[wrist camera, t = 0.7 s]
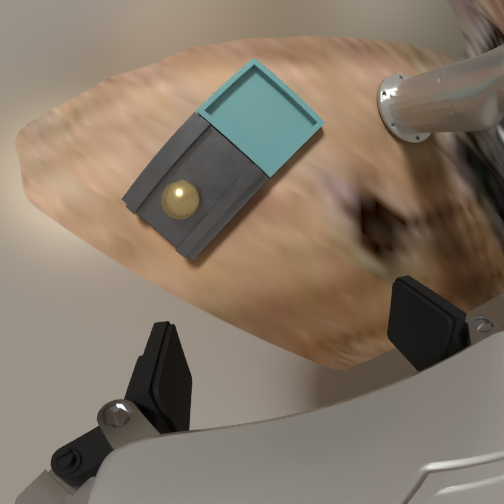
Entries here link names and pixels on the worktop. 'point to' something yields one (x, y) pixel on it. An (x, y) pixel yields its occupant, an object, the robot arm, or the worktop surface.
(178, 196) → the brass puck
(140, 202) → the slot plate
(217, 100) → the tray
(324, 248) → the worktop surface
